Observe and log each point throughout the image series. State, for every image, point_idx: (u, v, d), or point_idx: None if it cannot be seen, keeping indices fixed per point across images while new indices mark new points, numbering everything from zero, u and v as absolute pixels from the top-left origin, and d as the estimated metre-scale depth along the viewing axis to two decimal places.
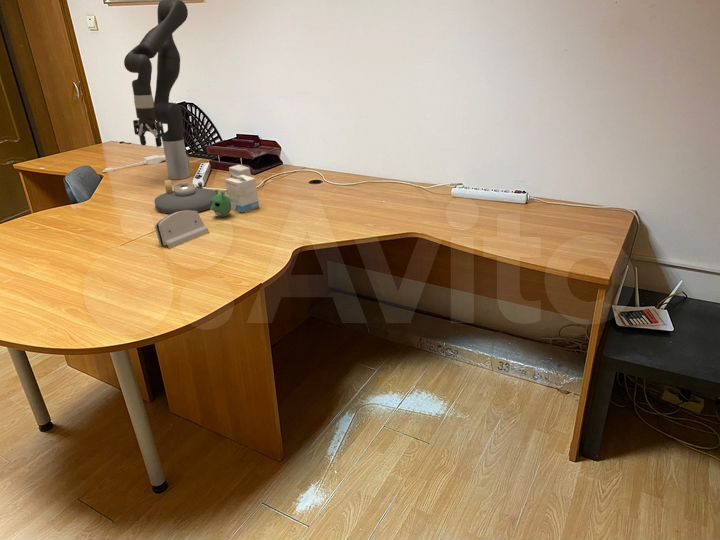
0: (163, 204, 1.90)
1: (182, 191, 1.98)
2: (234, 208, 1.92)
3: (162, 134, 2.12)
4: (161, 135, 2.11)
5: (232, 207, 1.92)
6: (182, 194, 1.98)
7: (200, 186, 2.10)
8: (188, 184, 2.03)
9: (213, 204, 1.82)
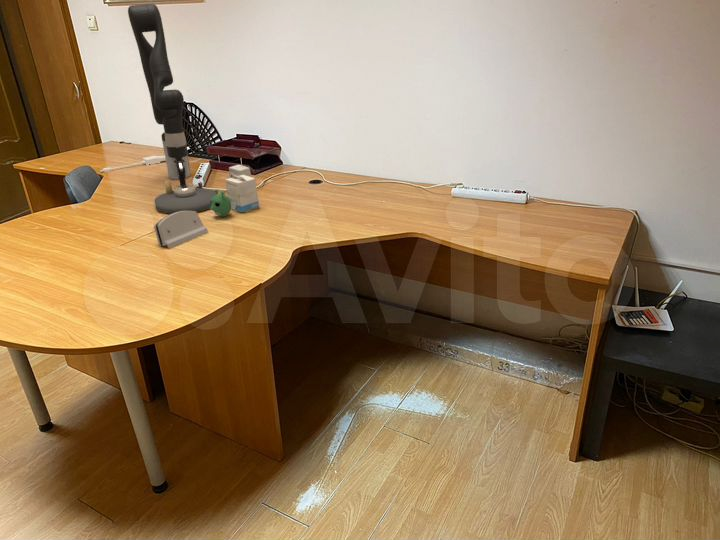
0: (163, 204, 1.90)
1: (183, 192, 1.96)
2: (234, 208, 1.92)
3: None
4: None
5: (232, 207, 1.92)
6: (183, 195, 1.97)
7: (200, 186, 2.10)
8: (188, 185, 2.01)
9: (213, 204, 1.82)
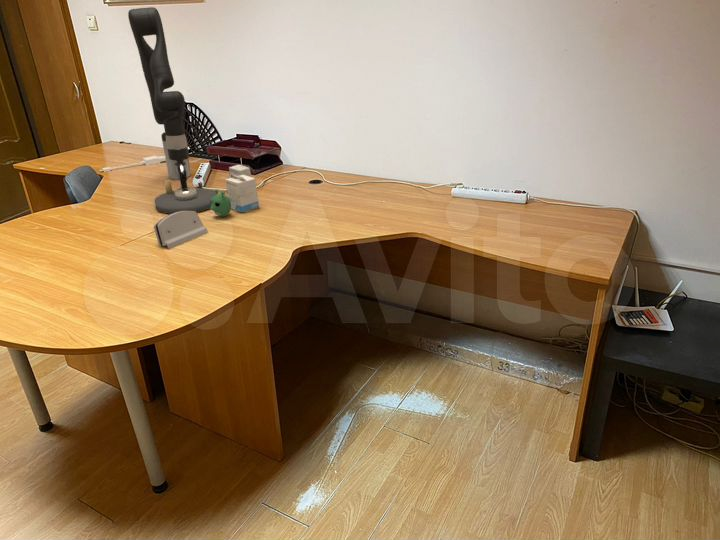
0: (163, 204, 1.90)
1: (183, 195, 1.93)
2: (234, 208, 1.92)
3: None
4: None
5: (232, 207, 1.92)
6: (183, 198, 1.93)
7: (200, 186, 2.10)
8: (189, 188, 1.98)
9: (213, 204, 1.82)
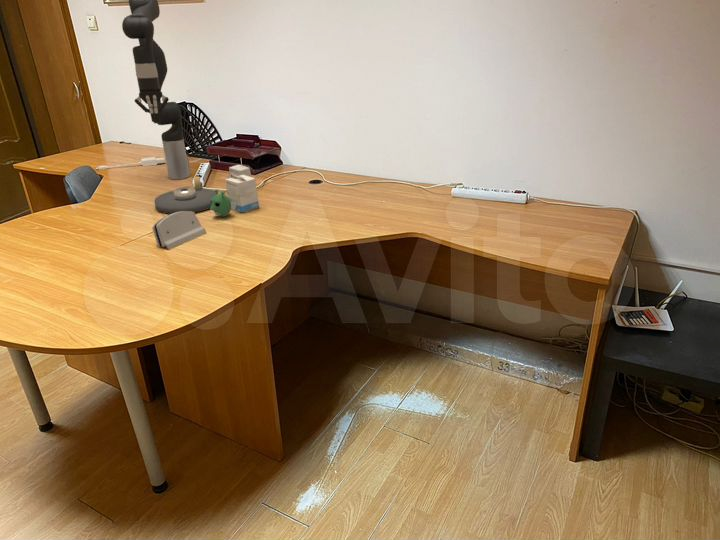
0: (163, 195, 2.00)
1: (174, 194, 1.95)
2: (234, 208, 1.92)
3: None
4: (162, 109, 1.97)
5: (232, 207, 1.92)
6: (174, 196, 1.95)
7: None
8: (190, 190, 1.96)
9: (213, 204, 1.82)
